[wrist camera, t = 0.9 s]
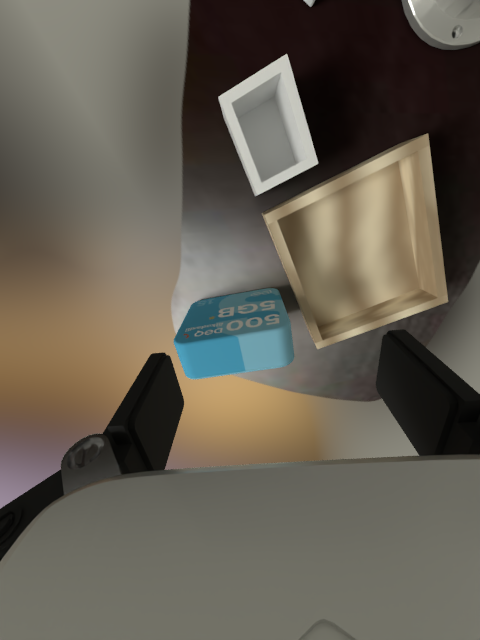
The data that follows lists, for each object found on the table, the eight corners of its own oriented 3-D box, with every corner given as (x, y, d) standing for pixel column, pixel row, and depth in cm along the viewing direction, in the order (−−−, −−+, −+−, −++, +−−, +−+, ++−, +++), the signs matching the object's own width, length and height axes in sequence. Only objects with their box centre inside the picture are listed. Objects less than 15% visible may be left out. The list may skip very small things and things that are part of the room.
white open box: (277, 85, 25) (287, 53, 19) (304, 170, 28) (318, 163, 22) (223, 118, 26) (218, 97, 20) (255, 196, 29) (257, 195, 24)
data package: (277, 285, 34) (292, 326, 23) (281, 315, 36) (297, 366, 25) (192, 300, 35) (168, 346, 24) (200, 328, 37) (182, 382, 26)
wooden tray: (400, 143, 26) (428, 133, 22) (423, 289, 33) (448, 301, 29) (261, 212, 30) (264, 215, 26) (309, 332, 37) (317, 349, 33)
